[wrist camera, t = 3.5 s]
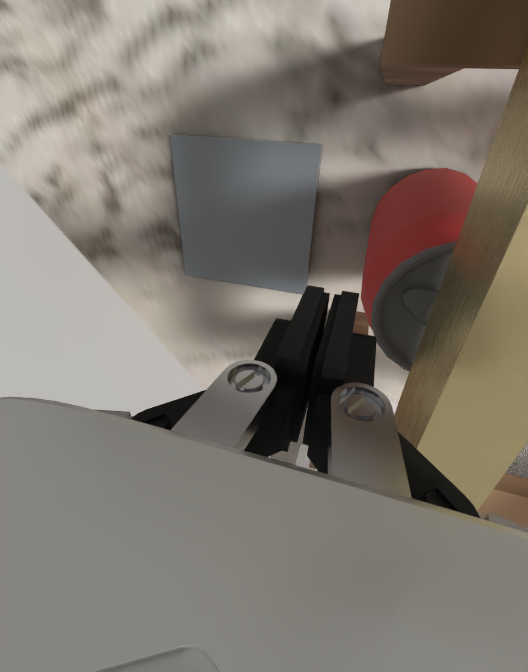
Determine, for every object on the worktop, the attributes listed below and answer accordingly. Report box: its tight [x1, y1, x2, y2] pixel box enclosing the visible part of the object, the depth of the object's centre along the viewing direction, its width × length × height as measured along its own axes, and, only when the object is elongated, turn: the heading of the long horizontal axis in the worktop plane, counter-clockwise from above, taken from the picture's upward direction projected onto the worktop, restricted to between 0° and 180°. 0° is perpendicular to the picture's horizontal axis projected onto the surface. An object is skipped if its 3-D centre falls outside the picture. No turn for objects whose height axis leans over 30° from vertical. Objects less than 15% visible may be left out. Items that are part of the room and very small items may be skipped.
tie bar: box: [394, 46, 528, 510], centre depth 10 cm, size 2×18×4 cm, turn 178°
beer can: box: [361, 168, 477, 371], centre depth 17 cm, size 7×7×12 cm
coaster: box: [170, 134, 323, 295], centre depth 25 cm, size 10×10×1 cm
